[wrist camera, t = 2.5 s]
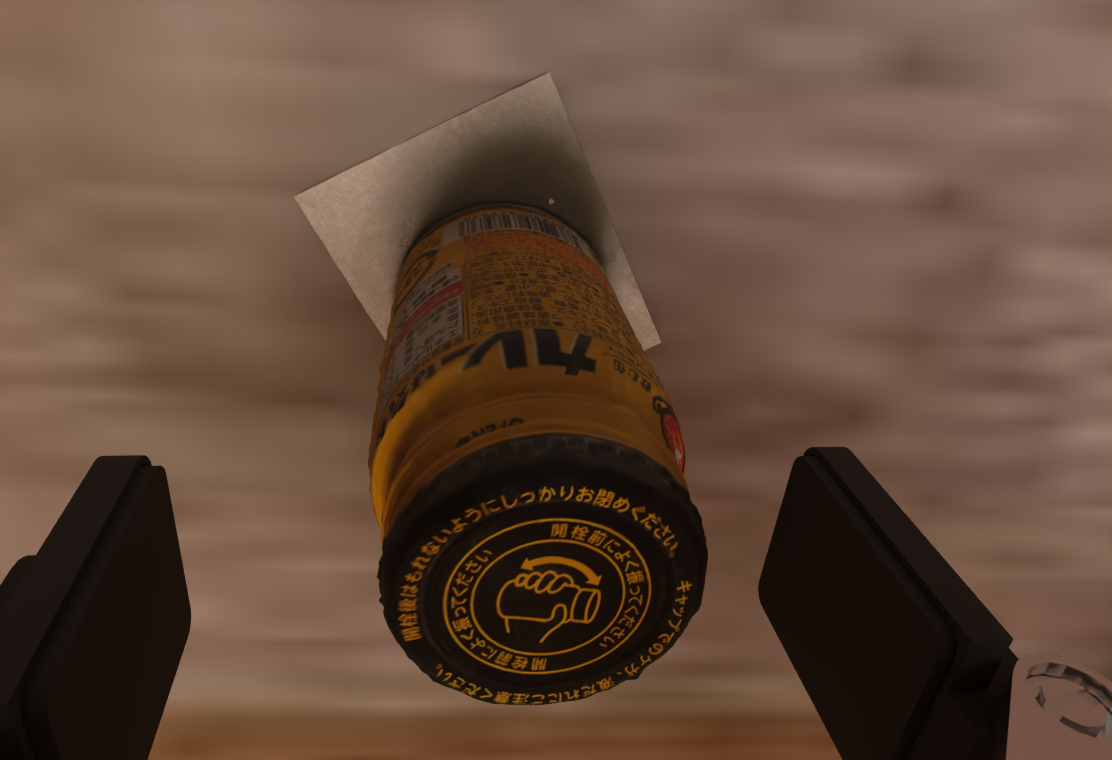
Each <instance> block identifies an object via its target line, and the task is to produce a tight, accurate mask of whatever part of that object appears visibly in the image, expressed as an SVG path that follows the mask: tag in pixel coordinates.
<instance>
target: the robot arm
mask: <svg viewBox="0 0 1112 760" xmlns="http://www.w3.org/2000/svg"><path fill="white" fill-rule="evenodd" d="M758 591H759V598H760V602H761V605H762V607H763V609H764V611H765V613H766V615H767V617H768V619H769V620H770V622H771V624H772V626H773V628H774V630H775V632H776V634H777V636H778V638H779V639H780V641H781V643H782V645H783V647H784V649H785V651H786V653H787V655H788V657H789V658H790V660H791V662H792V664H793V666H794V668H795V670H796V672H797V674H798V676H799V678H800V679H801V681H802V683H803V685H804V687H805V689H806V691H807V693H808V695H809V697H810V698H811V700H812V702H813V704H814V706H815V708H816V710H817V712H818V714H819V716H820V717H821V719H822V721H823V723H824V725H825V727H826V729H827V731H828V733H829V735H830V737H831V738H832V740H833V742H834V744H835V746H836V748H837V750H838V752H839V754H840V756H841V757H842V759H843V760H1112V682H1111V681H1109V680H1108V679H1106V678H1105V677H1103V676H1102V675H1101V674H1099V673H1098V672H1096V671H1095V670H1093V669H1091V668H1089V667H1087V666H1085V665H1083V664H1081V663H1079V662H1077V661H1074V660H1071V659H1068V658H1065V657H1062V656H1059V655H1053V654H1045V653H1036V654H1030V655H1026V656H1024V657H1023V658H1021V659H1020V660H1019V659H1018V658H1017V657H1016V656H1015V655H1014V653H1013V652H1012V651H1011V650H1010V649H1009V646H1010V644H1011V642H1012V640H1013V638H1012V637H1011V636H1010V635H1009V633H1008V632H1007V631H1006V630H1005V629H1004V628H1003V627H1002V625H1001V624H1000V623H999V622H998V621H997V620H996V618H995V617H994V616H993V615H992V614H991V613H990V611H989V610H988V609H987V608H986V607H985V606H984V605H983V603H982V602H981V601H980V600H979V599H978V598H977V596H976V595H975V594H974V593H973V592H972V591H971V589H970V588H969V587H968V586H967V585H966V584H965V583H964V581H963V580H962V579H961V578H960V577H959V576H958V574H957V573H956V572H955V571H954V570H953V569H952V567H951V566H950V565H949V564H948V563H947V562H946V561H945V559H944V558H943V557H942V556H941V555H940V554H939V552H938V551H937V550H936V549H935V548H934V547H933V545H932V544H931V543H930V542H929V541H928V540H927V539H926V537H925V536H924V535H923V534H922V533H921V532H920V530H919V529H918V528H917V527H916V526H915V525H914V523H913V522H912V521H911V520H910V519H909V518H908V517H907V515H906V514H905V513H904V512H903V511H902V510H901V508H900V507H899V506H898V505H897V504H896V503H895V501H894V500H893V499H892V498H891V497H890V496H889V495H888V493H887V492H886V491H885V490H884V489H883V488H882V486H881V485H880V484H879V483H878V482H877V481H876V479H875V478H874V477H873V476H872V475H871V474H870V473H869V471H868V470H867V469H866V468H865V467H864V466H863V464H862V463H861V462H860V461H859V460H858V459H857V457H856V456H855V455H854V454H853V453H852V452H851V451H850V450H849V449H848V448H845V447H811V448H809V449H807V450H806V452H805V453H804V455H803V456H800V457H797V458H796V460H795V461H794V464H793V466H792V470H791V473H790V477H789V480H788V484H787V487H786V491H785V494H784V497H783V501H782V504H781V508H780V511H779V515H778V518H777V522H776V525H775V528H774V532H773V535H772V539H771V542H770V546H769V549H768V553H767V556H766V559H765V563H764V566H763V570H762V573H761V577H760V580H759V587H758ZM190 624H191V608H190V602H189V597H188V591H187V586H186V580H185V575H184V569H183V564H182V558H181V553H180V547H179V542H178V536H177V531H176V525H175V520H174V515H173V509H172V504H171V498H170V493H169V487H168V482H167V476H166V472H165V469H164V468H163V467H162V466H152V465H151V462H150V460H149V458H148V457H147V456H145V455H137V456H101V457H98V458H97V459H96V460H95V462H94V463H93V465H92V466H91V468H90V470H89V471H88V473H87V474H86V476H85V478H84V479H83V481H82V482H81V484H80V486H79V487H78V489H77V490H76V492H75V494H74V495H73V497H72V498H71V500H70V502H69V503H68V505H67V506H66V508H65V510H64V511H63V513H62V514H61V516H60V518H59V519H58V521H57V522H56V524H55V526H54V527H53V529H52V530H51V532H50V534H49V535H48V537H47V538H46V540H45V542H44V543H43V545H42V546H41V548H40V550H39V551H38V553H37V555H29V556H25V557H23V558H21V559H19V560H18V561H17V562H16V564H15V565H14V566H13V567H12V568H11V570H10V571H9V573H8V574H7V576H6V577H5V579H4V580H3V582H2V584H1V585H0V760H147V759H148V756H149V753H150V750H151V747H152V744H153V741H154V738H155V735H156V732H157V729H158V726H159V723H160V720H161V717H162V714H163V711H164V708H165V705H166V702H167V699H168V696H169V693H170V690H171V687H172V684H173V681H174V678H175V675H176V672H177V669H178V666H179V662H180V659H181V656H182V653H183V650H184V647H185V644H186V641H187V638H188V635H189V631H190Z"/></svg>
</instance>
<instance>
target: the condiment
mask: <svg viewBox="0 0 1112 760" xmlns="http://www.w3.org/2000/svg"><path fill="white" fill-rule="evenodd" d="M294 198H295V200H296V201H297V203H298V204H299V206H300V208H301V209H302V211H303V212H304V214H305V216H306V217H307V219H308V221H309V223H310V224H311V226H312V227H313V229H314V230H315V232H316V233H317V235H318V236H319V238H320V239H321V241H322V242H323V244H324V245H325V247H326V249H327V250H328V252H329V254H330V256H331V257H332V259H333V261H334V262H335V264H336V266H337V267H338V268H339V270H340V271H341V272H342V273H343V275H344V277H345V278H346V280H347V282H348V283H349V285H350V287H351V289H352V290H353V292H354V294H355V295H356V297H357V298H358V300H359V301H360V302H361V304H362V305H363V307H364V309H365V310H366V312H367V314H368V315H369V316H370V318H371V319H372V321H373V323H374V324H375V325H376V327H377V328H378V330H379V331H380V333H381V334H382V336H383V337H384V339H385V341H386V348H385V352H384V357H383V360H382V362H381V365H380V368H379V370H380V374H381V378H380V381H379V384H378V394H379V396H378V398H377V404H376V411H375V414H374V420H373V428H372V438H371V444H370V447H369V460H368V465H369V470H370V479H371V482H370V488H369V490H370V494H371V498H372V502H373V508H374V511H375V514H376V517H377V520H378V523H379V526H380V528H381V538H382V550H383V554H382V557H381V559H380V561H379V570H378V575H377V577H378V579H379V588H380V593H381V597H380V600H379V602H380V603H382V604H383V606H384V611H383V613H384V617H385V619H386V622H387V624H388V627H389V629H390V630H391V632H392V634H393V636H394V638H395V639H396V641H397V642H398V643H399V645H400V646H401V647H402V649H403V650H404V651H405V653H406V655H407V656H408V658H409V659H411V660H412V661H413V662H415V664H416V665H417V666H418V667H419V668H420V669H421V671H422V672H424V673H426V674H427V675H428V676H429V677H430V678H431V679H432V680H433V681H434V682H437V683H439V684H441V685H443V686H446V687H449V688H452V689H455V690H457V691H460V692H462V693H465V694H466V695H468V696H470V697H472V698H475V699H477V700H481V701H485V702H489V703H492V704H509V705H544V704H551V703H558V702H566V701H574V700H579V699H584V698H587V697H590V696H591V695H593V694H595V693H598V692H601V691H604V690H609V689H611V688H613V687H614V686H616V685H618V684H620V683H621V682H623V681H626V680H633V679H637V678H638V677H639V676H640V674H641V673H642V671H643V670H644V669H645V668H646V667H647V666H648V665H649V664H651V663H653V662H654V661H656V660H657V659H659V658H660V657H661V656H663V655H664V654H665V653H666V652H667V651H668V650H669V649H670V648H672V647H673V645H674V644H675V642H676V641H677V639H678V638H679V637H680V636H681V634H682V633H683V631H684V630H685V628H686V627H687V625H688V623H689V621H690V620H691V618H692V616H693V615H694V614H695V613H696V612H697V611H698V610H699V608H700V605H701V601H702V595H703V590H704V584H705V575H706V568H707V560H708V550H707V546H706V537H705V535H704V529H703V526H702V518H701V516H700V514H699V512H698V510H697V507H696V506H695V505H694V504H693V503H692V502H691V500H690V494H689V492H688V487H687V484H686V481H685V448H684V444H683V441H682V436H681V431H680V427H679V424H678V422H677V419H676V416H675V414H674V411H673V408H672V406H671V403H670V400H669V398H668V395H667V393H666V391H665V390H664V387H663V385H662V384H661V383H660V380H659V378H658V376H657V375H656V374H655V372H654V369H653V367H652V365H651V364H650V362H649V359H648V358H647V355H646V354H645V353H644V351H645V350H647V349H649V348H651V347H654V346H656V345H658V344H660V343H661V340H660V338H659V336H658V333H657V331H656V328H655V326H654V324H653V321H652V319H651V316H650V314H649V312H648V309H647V307H646V304H645V302H644V300H643V297H642V295H641V292H640V290H639V288H638V285H637V283H636V280H635V278H634V275H633V273H632V271H631V268H630V266H629V264H628V261H627V259H626V256H625V254H624V251H623V249H622V246H621V244H620V242H619V239H618V237H617V235H616V232H615V230H614V227H613V225H612V222H611V219H610V216H609V215H608V213H607V210H606V207H605V205H604V202H603V200H602V197H601V195H600V193H599V191H598V189H597V186H596V183H595V181H594V179H593V176H592V174H591V171H590V169H589V166H588V163H587V161H586V159H585V157H584V155H583V152H582V149H581V147H580V144H579V142H578V140H577V138H576V135H575V133H574V130H573V128H572V125H571V123H570V120H569V118H568V116H567V113H566V110H565V108H564V105H563V103H562V101H561V98H560V96H559V94H558V91H557V89H556V86H555V84H554V81H553V79H552V77H551V74H550V72H549V73H547V74H544V75H542V76H540V77H538V78H536V79H534V80H532V81H530V82H528V83H526V84H524V85H522V86H521V87H517V88H514V89H512V90H510V91H508V92H506V93H504V94H502V95H500V96H498V97H496V98H494V99H492V100H489V101H487V102H485V103H483V104H481V105H479V106H477V107H475V108H473V109H471V110H470V111H468V112H466V113H463V114H461V115H458V116H456V117H454V118H452V119H450V120H448V121H446V122H444V123H442V124H440V125H438V126H436V127H434V128H432V129H430V130H428V131H426V132H424V133H422V134H420V135H418V136H416V137H414V138H411V139H409V140H407V141H405V142H403V143H401V144H400V145H396V146H394V147H392V148H390V149H389V150H387V151H385V152H383V153H381V154H379V155H377V156H375V157H374V158H372V159H369V160H367V161H365V162H363V163H361V164H359V165H357V166H355V167H352V168H350V169H348V170H346V171H344V172H342V173H340V174H338V175H336V176H335V177H333V178H331V179H329V180H327V181H325V182H323V183H320V184H318V185H316V186H314V187H312V188H310V189H308V190H306V191H304V192H302V193H300V194H298V195H296V196H294ZM550 198H552V199H553V200H554V201H555V202H554V203H553V204H549V202H548V201H549V199H550ZM408 219H409V220H411V228H410V231H409V232H408V233H407V234H405V233H404V232H403V225H404V221H406V220H408ZM406 235H407V237H408V238H409V242H408V244H407V246H403V247H401V245H400V243H401V241H402V238H403V236H406Z"/></svg>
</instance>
